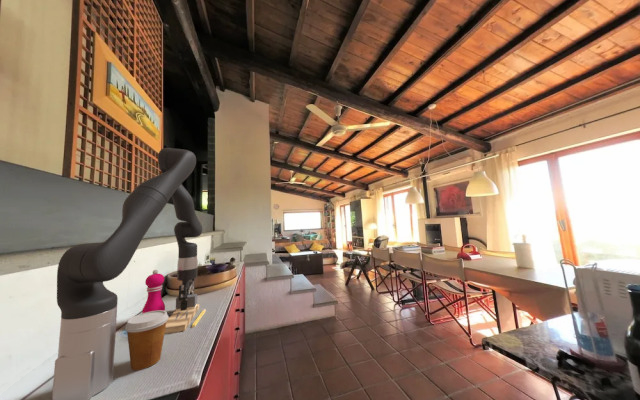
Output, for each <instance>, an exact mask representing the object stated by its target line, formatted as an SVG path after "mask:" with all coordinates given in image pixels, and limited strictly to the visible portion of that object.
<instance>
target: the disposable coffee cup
mask: <svg viewBox="0 0 640 400" xmlns="http://www.w3.org/2000/svg"><path fill="white" fill-rule="evenodd" d="M169 317H170V316H169V315H168V312H167V311H166V310H165V311H162V310H159V311H151V312H146V313H143V314H142V313H140V314H137V315H135V316H132V317H131V318H129V319H128V320H127V322H126V324H125V326H124V330H125V331H126V332H127V334H126V335H127V344H128V352H129V361H130V369H131V370H133V371H140V370H145V369H147V368H149V367H152V366H154V365H155V364H157V363H158V362H159V361H160V360H161V357H162V350H163V344H164V338H165V334H164V333H165V327H166V322H167V319H168V318H169Z"/></svg>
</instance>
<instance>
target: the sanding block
mask: <svg viewBox="0 0 640 400" xmlns="http://www.w3.org/2000/svg"><path fill="white" fill-rule="evenodd" d="M183 297H184V296H183ZM178 299H179V295H178V296H177V297H176V298H175V310H176V311H181V301H179V300H178ZM197 304H198V293H193V294H190V295H188V299H187V309H186V310H189V309H195V308H196V306H197Z"/></svg>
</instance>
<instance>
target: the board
mask: <svg viewBox="0 0 640 400" xmlns="http://www.w3.org/2000/svg"><path fill="white" fill-rule="evenodd" d="M199 310H200V303H197V306H196V308H195V309H189V310H183V311H176V309H175V310H174V312H172V314H171V315H170V316H169V318H168V319H167V322H166V327H165V333H164V335H167V334H173V333H181V332H185V331H186V330H187V329H188V327H189V326H190V323H191V322H192V321H193V319H194V317H196V314H197V312H199Z"/></svg>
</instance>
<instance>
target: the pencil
mask: <svg viewBox="0 0 640 400" xmlns="http://www.w3.org/2000/svg"><path fill="white" fill-rule="evenodd" d="M206 311H207V310H206V308H204V309H202V311H201V312H200V313H199V315H198V316H197V318H196V319H195V320H194V322H193V323H192V325H191V328H196V326H197V324H199V322H200V321H201V319H202V317H203V316H204V314H205V313H206Z"/></svg>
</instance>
